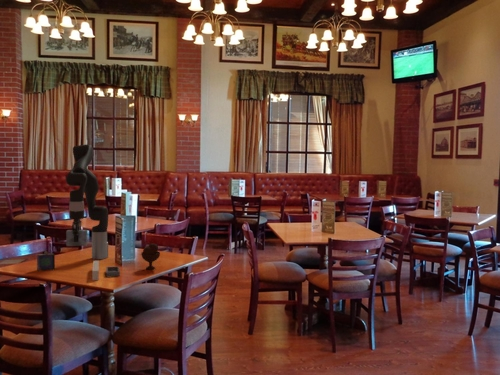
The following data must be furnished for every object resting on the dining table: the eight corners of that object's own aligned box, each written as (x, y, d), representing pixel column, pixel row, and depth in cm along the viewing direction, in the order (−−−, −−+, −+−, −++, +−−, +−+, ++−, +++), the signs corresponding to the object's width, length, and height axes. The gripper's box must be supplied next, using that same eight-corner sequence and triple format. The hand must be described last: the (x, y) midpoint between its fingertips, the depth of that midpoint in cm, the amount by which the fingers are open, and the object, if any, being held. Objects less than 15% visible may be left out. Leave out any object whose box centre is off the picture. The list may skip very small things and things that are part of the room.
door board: (93, 269, 259) (93, 260, 259) (98, 269, 260) (98, 260, 259) (92, 280, 236) (92, 270, 236) (98, 280, 237) (98, 270, 237)
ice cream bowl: (151, 265, 271) (151, 241, 270) (163, 268, 264) (164, 243, 263) (137, 268, 263) (137, 243, 262) (149, 272, 256) (149, 246, 255)
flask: (36, 270, 253) (36, 252, 253) (37, 269, 256) (37, 251, 255) (54, 269, 256) (54, 251, 256) (55, 268, 259) (55, 250, 258)
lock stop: (66, 246, 241) (66, 231, 241) (67, 244, 245) (67, 230, 245) (85, 245, 243) (85, 231, 243) (87, 244, 247) (87, 229, 247)
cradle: (106, 271, 256) (106, 266, 256) (118, 270, 258) (118, 266, 258) (106, 276, 244) (106, 272, 243) (119, 276, 246) (119, 271, 246)
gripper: (72, 208, 249) (72, 238, 250) (66, 211, 235) (66, 243, 236) (86, 208, 250) (86, 238, 252) (81, 211, 237) (81, 243, 238)
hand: (76, 240), depth 244 cm, fingers closed on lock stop, 4 cm apart
